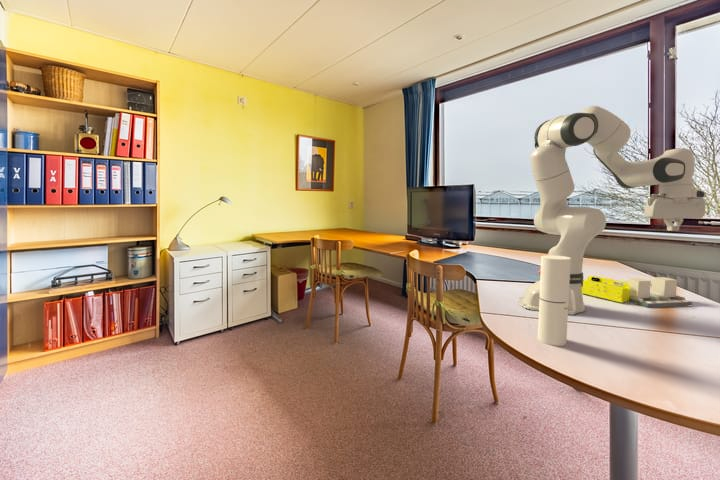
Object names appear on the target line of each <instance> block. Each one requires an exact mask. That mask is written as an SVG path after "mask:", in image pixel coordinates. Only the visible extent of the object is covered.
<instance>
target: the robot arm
mask: <svg viewBox="0 0 720 480" xmlns="http://www.w3.org/2000/svg"><path fill="white" fill-rule="evenodd" d="M630 137H631V128H630V126H629V125H628V124H627V123H626V122H625V121H624V120H623V119H621V118H620V117H618V116H617V115H616V114H615V113H613V112H611V111H609V110H607V109H605V108H603V107H600V106H598V105H592V106H591V105H590V106H587V107H586V108H583V109H582V110H581V111H580V112H574V113H572V114H566V115H560V116H557V117H554V118H552V119H548V120H545V121H544V122H542V123H541V124H540V125H538V126H537V128H536V129H535V132H534V147H535V148H534V150H532V152H531V154H530V157H529V158H530V167H531V168H530V169H531V170H532V171H531V172H532V175H533V179H534V182H535V185H536V188H537V191H538V195H539V199H540V200H539V201H540V203H539V204H540V205H539V209H538V211H537V212H536V213H535V214H534V218H533V225H534V226H535V228H536V229H537V230H538V231H539V232H542V233H544V234H548V235H556V236H560V238H559V242H558V243H557V244H556V245H555V246H553V247H551V248H550V249H549V250H548V253H547V255H556V256H565V257H570V258H571V263H570V283H569V302H568V315H570V316H571V315H572V316H573V315H576V314H578V313H583V312H585V311H586V308H585V302H584V298H583V297H584V296H583V293H582V287H583V280H584V272H583V263H584V257H585V255H584V254H585V251H586V248H587V247H588V245H589V243H590V242H591V241H592V240H593V239H594V238H596V237H597V236H599V235H600V234H601V233H602V232H603V231H604V230H605V228H606V226H607V218H606V215H605V214H604V212H603V211H602V210H601V209H599V208H598V209H597V208H594V207H591V206H590V207H589V206H569V205H568V201H567V200H568V197H570V196H571V195H572V194H573V193H574V191H575V183H574V180H573V177H572V173H571V171H570V167H569V165H568V161H567V159H566V150H567V148H571V147H577V146H580V145H581V146H582V145H583V144H584V143H587V144H589V146H591V147H592V149H593V151H592V152H593V154H594V157H595V158H596V159H597V160H598V161H599V162H600V163H601V164H602V165H603V166H604V167H605V168H606V170H608V171H609V172H610V173H611V174H612V176H613V177H614V179H615V181H616V183H617V184H618V185H619V186H620V187H621V188H624V189H627V190H628V189H634V188H641V187H648V186H654V185H655V186H656V185H659V187H658V193H652V194H651V195H650V196H648V197H647V201H646V204H645V208H644V215H643V216H644V217H645V219H649V220H650V219H651V220H652V219H659V220H660V219H663V220H664V221H663V222H664V224H665V225H666V231H671V232H673V231H676V232H678V231H680V226H681V225H682V224H683V222H684V219H702V218H703V217H704V216H706V215H705V214H706V209H707V208H706V207H707V206H706V205H707V204H706V200H705V198H706V197H707V192H706V191H703V190H701V189H698V188H695V187H694V182H693V177H694V174H695V157H694V153H693V151H692V150H691V149H688V148H672V149H667V150H665V151H664V152H663V153H662V154H661V155H660V156H657V157H654V158H652V159H650V158H649V159H647V160H641V161H627V160H626V159H625V158H624V157H623V156H622V155H621V154H620V153H619V151H621V150H622V149H623V148H624V147H625V146H626V144H627V143H628V142H629V140H630ZM673 222H674V223H673ZM538 274H539V275H541V268H540V269H539V270H538ZM539 298H540V279H539V280H537V281H535V282H534V283H532V284H530V285H528V286H527V287H526V289H525V291H524V296H520V297H519V298H518V299H517V303H518V302H519V303H518V304H519V306H520V307H522V306H523V307H522V308H524V309H526V308H527V309H526V310H529V309H530V310H531V311H537V312H539Z"/></svg>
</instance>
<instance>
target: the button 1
mask: <svg viewBox="0 0 720 480" xmlns="http://www.w3.org/2000/svg"><path fill="white" fill-rule="evenodd" d="M626 283H627V284H628V285H629V286H630V293H629V295H631V296H634V297H637V298H650V293H651V283H652V280H648V279H644V278H640V277H631V278H630V277H628V278H626Z"/></svg>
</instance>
